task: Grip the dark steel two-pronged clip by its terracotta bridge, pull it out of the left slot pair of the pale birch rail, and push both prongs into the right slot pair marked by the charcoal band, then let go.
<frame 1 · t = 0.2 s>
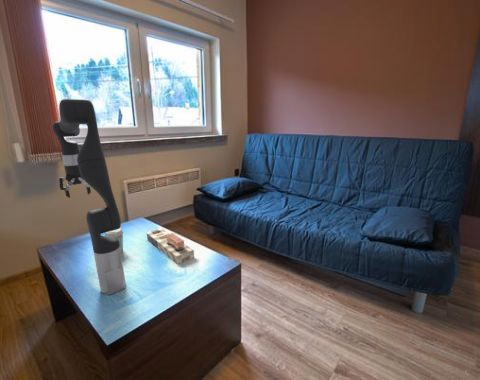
hand: (79, 195, 130), 29 cm above the table, fingers open, 8 cm apart
clip: (176, 253, 131), on the table
coffee cup: (116, 252, 133), on the table
rail: (168, 247, 137), on the table
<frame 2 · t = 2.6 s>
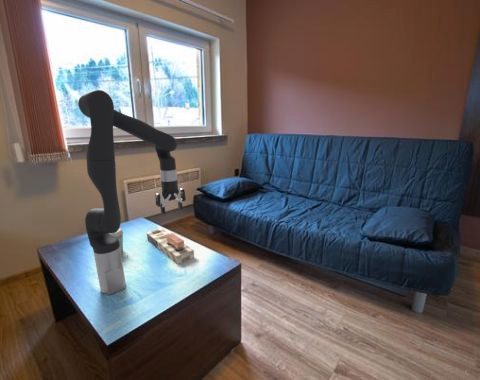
hand: (172, 211, 125), 22 cm above the table, fingers open, 8 cm apart
nothing on the table moved.
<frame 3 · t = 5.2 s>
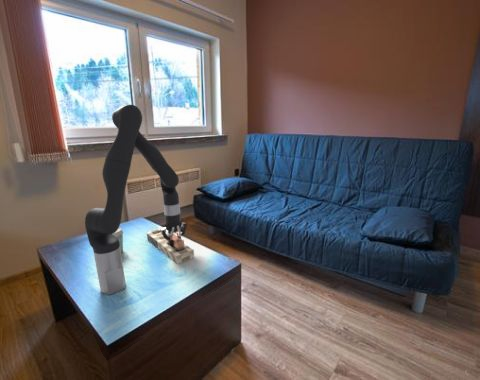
hand: (175, 244, 130), 5 cm above the table, fingers closed on clip, 3 cm apart
clip: (176, 253, 131), on the table, touching gripper
everything else where it was.
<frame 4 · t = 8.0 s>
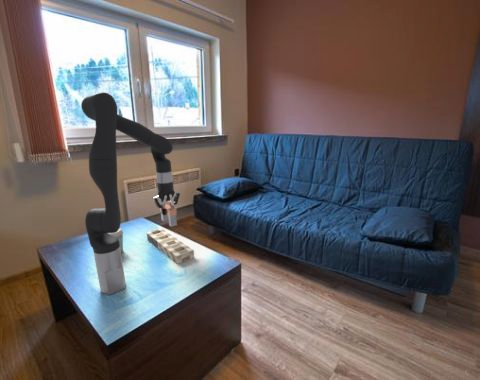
hand: (168, 213, 130), 19 cm above the table, fingers closed on clip, 3 cm apart
clip: (169, 222, 131), point 15 cm above the table, touching gripper
everything else where it was.
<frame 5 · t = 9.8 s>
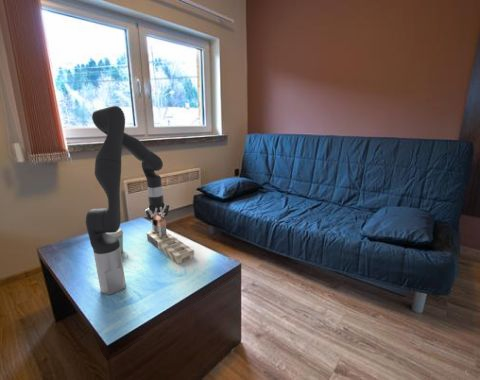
hand: (158, 224, 142), 10 cm above the table, fingers closed on clip, 3 cm apart
clip: (159, 232, 143), point 5 cm above the table, touching gripper
everything else where it was.
when the fingers open (5 cm above the table, at t = 11.1 s): clip stays where it is, on the table.
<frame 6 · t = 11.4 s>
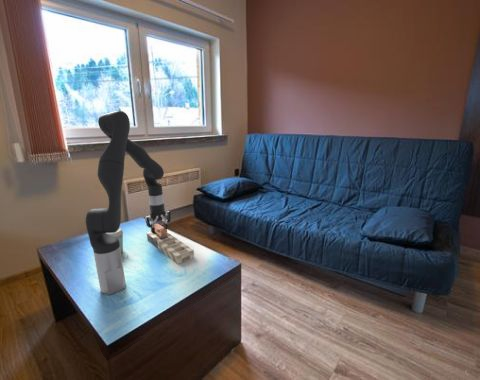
hand: (159, 231, 143), 6 cm above the table, fingers open, 6 cm apart
clip: (160, 241, 144), on the table
everything else where it was.
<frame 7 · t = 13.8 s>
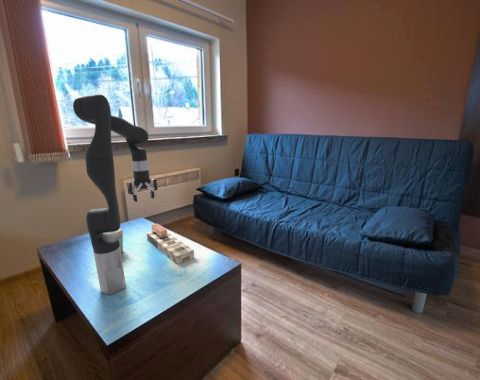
hand: (144, 200, 136), 25 cm above the table, fingers open, 8 cm apart
nothing on the table moved.
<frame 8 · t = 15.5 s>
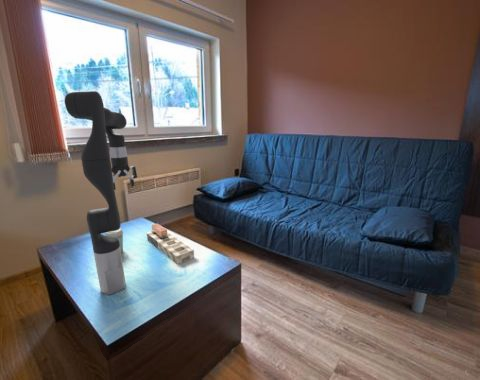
hand: (123, 188, 131), 32 cm above the table, fingers open, 8 cm apart
nothing on the table moved.
at the end: clip 0.1 cm from the target spot on the rail, point 0.0 cm above the rail's base; clip tilted 0°; the gripper is holding nothing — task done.
